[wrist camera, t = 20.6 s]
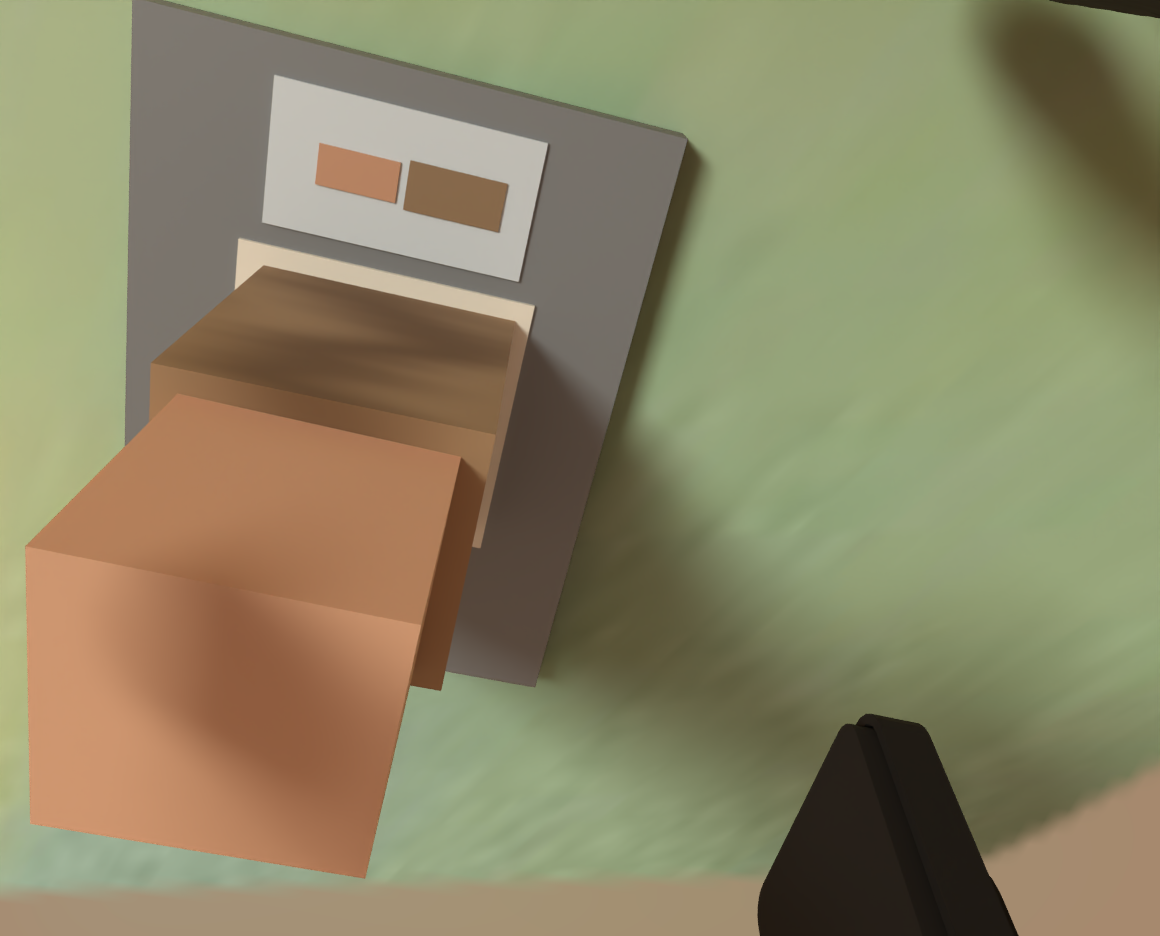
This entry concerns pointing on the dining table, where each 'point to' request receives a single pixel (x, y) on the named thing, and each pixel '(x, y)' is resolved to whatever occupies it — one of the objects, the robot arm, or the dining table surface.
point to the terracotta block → (232, 635)
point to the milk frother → (1121, 6)
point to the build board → (406, 252)
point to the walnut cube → (360, 391)
